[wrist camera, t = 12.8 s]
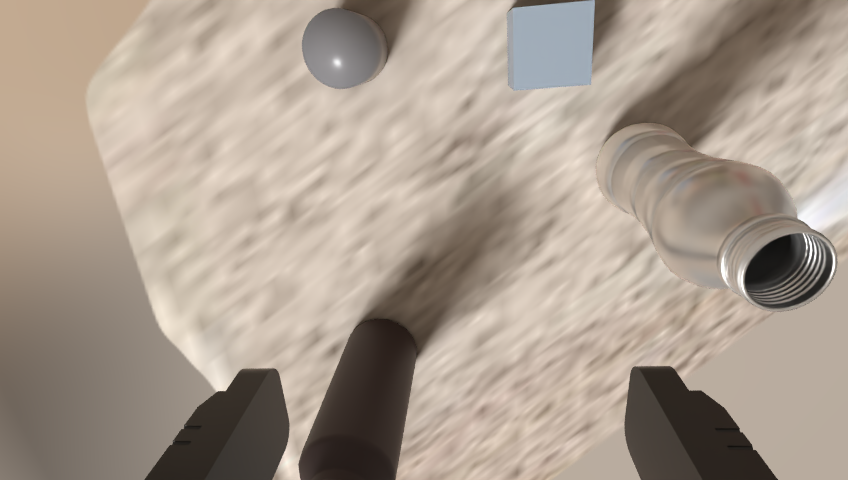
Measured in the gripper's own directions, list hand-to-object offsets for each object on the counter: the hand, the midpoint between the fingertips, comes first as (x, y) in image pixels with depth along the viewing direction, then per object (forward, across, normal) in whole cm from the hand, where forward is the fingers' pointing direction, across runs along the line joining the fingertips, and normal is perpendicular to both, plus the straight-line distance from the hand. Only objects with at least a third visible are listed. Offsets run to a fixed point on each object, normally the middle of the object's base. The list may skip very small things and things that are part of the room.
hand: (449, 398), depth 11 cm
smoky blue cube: (+30, -7, -7) cm, 31 cm away
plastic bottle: (+30, -14, +2) cm, 33 cm away
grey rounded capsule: (+30, +7, -8) cm, 32 cm away
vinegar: (+30, +8, +19) cm, 36 cm away
